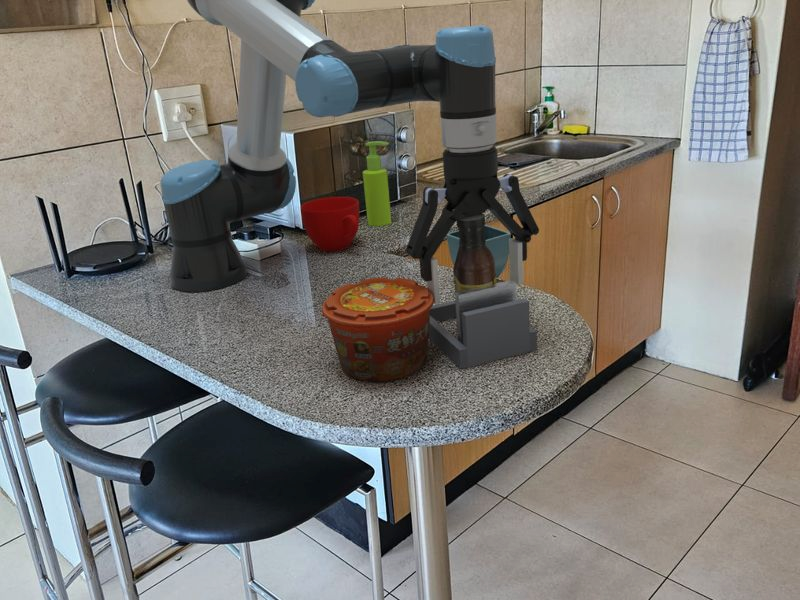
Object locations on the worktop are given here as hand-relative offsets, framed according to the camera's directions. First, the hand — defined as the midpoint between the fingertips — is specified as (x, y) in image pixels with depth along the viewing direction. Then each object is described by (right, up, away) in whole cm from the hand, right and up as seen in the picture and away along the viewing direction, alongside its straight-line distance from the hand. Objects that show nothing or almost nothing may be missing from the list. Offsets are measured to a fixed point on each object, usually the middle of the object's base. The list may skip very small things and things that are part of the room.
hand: (475, 291), depth 103 cm
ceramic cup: (-25, +10, +52) cm, 59 cm away
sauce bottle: (+1, -8, +3) cm, 8 cm away
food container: (-14, -11, -1) cm, 17 cm away
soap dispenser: (-16, +18, +69) cm, 73 cm away
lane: (0, -7, +5) cm, 8 cm away
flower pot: (+4, +3, +28) cm, 28 cm away
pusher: (+2, -9, 0) cm, 9 cm away
